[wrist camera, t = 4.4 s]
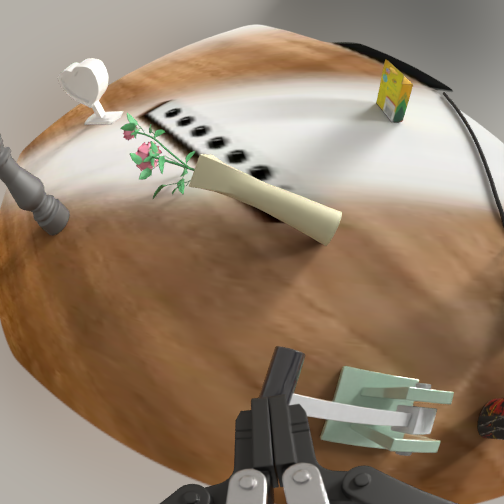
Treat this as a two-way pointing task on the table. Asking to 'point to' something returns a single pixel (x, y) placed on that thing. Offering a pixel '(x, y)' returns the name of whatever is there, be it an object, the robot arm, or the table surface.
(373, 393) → the bracket
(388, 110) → the crayon box
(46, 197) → the candle holder
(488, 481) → the table surface
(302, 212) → the flower vase
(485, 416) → the deodorant
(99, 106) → the heart sculpture
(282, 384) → the lever
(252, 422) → the robot arm
